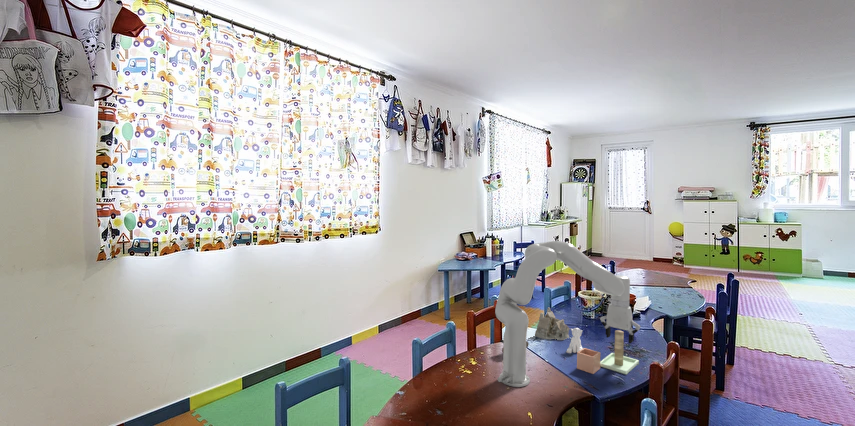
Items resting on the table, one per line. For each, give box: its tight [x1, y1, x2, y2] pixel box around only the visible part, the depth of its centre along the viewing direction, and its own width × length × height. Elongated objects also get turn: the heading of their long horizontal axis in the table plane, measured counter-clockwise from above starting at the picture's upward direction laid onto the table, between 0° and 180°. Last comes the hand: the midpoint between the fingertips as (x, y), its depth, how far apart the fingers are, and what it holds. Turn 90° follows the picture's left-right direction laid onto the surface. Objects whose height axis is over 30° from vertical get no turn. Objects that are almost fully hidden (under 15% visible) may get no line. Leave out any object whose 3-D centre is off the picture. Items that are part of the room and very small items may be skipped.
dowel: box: [614, 329, 625, 366], centre depth 176 cm, size 4×4×15 cm
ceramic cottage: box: [534, 307, 571, 341], centre depth 213 cm, size 16×16×15 cm
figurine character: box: [499, 339, 529, 353], centre depth 191 cm, size 7×8×15 cm
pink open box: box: [576, 347, 601, 375], centre depth 172 cm, size 7×7×8 cm
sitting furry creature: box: [565, 327, 584, 354], centre depth 191 cm, size 10×9×12 cm
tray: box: [600, 352, 640, 376], centre depth 176 cm, size 16×12×2 cm
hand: (619, 339), depth 175 cm, fingers open, 9 cm apart
